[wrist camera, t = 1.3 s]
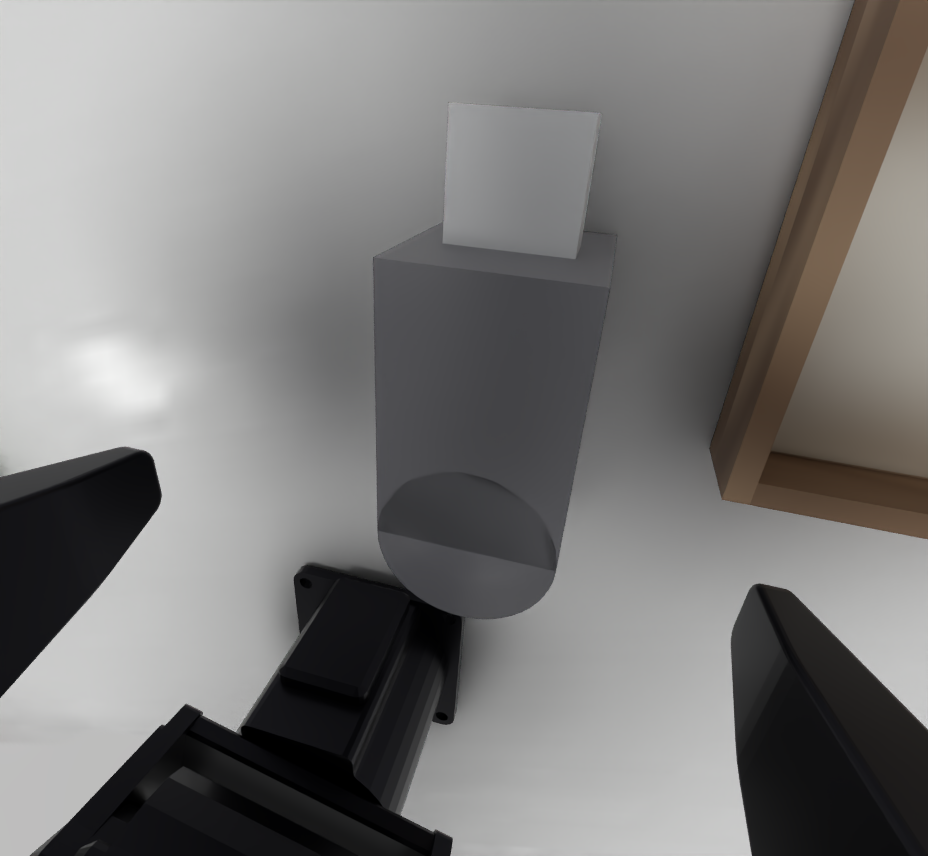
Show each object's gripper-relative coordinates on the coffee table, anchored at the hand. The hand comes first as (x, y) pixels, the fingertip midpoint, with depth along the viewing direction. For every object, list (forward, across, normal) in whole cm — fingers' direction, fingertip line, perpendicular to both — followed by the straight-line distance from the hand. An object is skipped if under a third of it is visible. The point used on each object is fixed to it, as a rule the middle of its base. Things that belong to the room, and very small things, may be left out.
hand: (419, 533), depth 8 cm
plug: (+8, 0, 0) cm, 8 cm away
